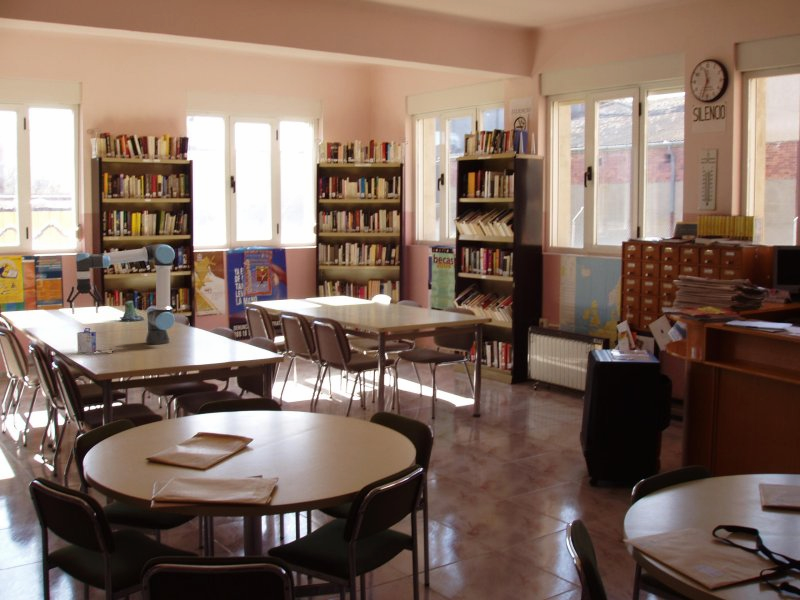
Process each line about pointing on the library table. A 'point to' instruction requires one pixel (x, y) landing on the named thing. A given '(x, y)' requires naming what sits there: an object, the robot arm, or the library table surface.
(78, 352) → the board
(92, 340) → the ink cartridge box
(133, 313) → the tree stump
